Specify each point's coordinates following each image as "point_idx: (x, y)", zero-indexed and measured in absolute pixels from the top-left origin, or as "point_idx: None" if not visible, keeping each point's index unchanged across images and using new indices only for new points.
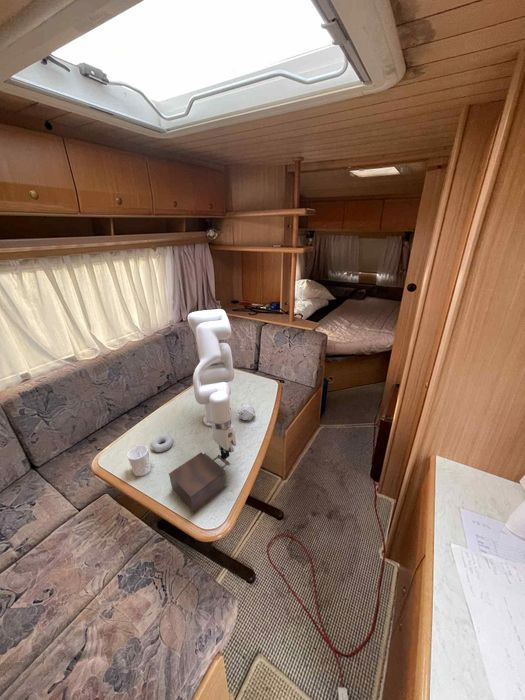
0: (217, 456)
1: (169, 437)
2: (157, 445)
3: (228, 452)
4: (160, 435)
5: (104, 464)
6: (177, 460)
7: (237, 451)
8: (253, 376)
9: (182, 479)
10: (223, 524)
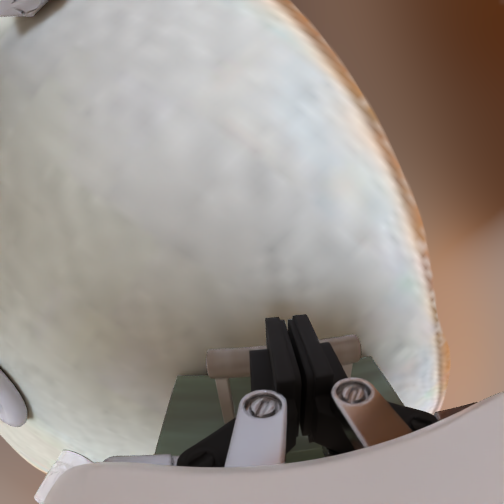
0: (216, 377)
1: None
2: (9, 422)
3: (344, 372)
4: None
5: (44, 469)
6: (77, 410)
7: (197, 139)
8: None
9: None
10: (438, 405)
